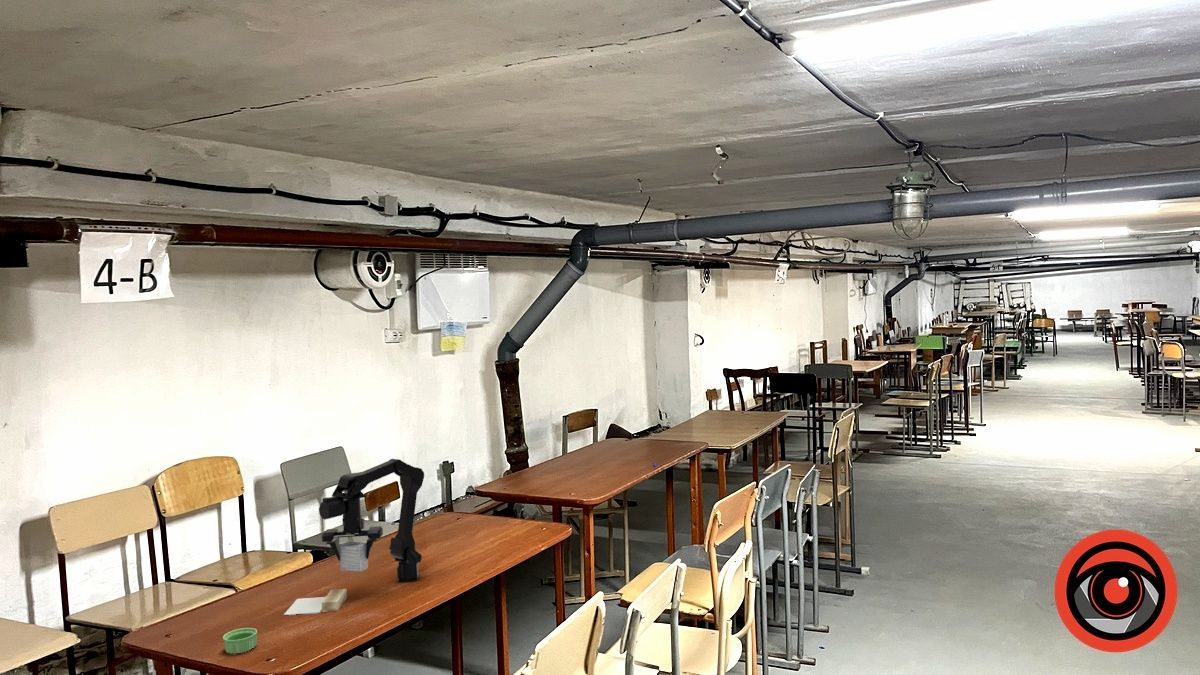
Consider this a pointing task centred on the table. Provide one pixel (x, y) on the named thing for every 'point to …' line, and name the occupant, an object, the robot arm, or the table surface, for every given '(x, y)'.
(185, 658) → the table surface
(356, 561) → the medicine box
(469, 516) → the table surface
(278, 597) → the table surface
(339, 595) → the step block
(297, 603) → the mat
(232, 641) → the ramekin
